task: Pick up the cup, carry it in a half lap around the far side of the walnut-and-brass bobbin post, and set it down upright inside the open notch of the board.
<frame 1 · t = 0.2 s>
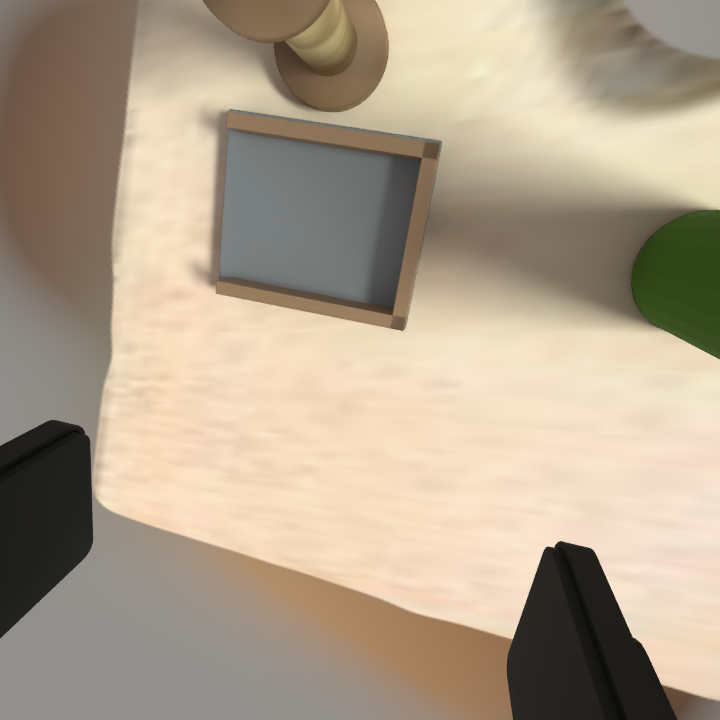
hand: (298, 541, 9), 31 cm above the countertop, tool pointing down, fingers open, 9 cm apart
bobbin post: (333, 51, 34), on the countertop
notched board: (324, 222, 38), on the countertop
wine bottle: (694, 273, 35), on the countertop
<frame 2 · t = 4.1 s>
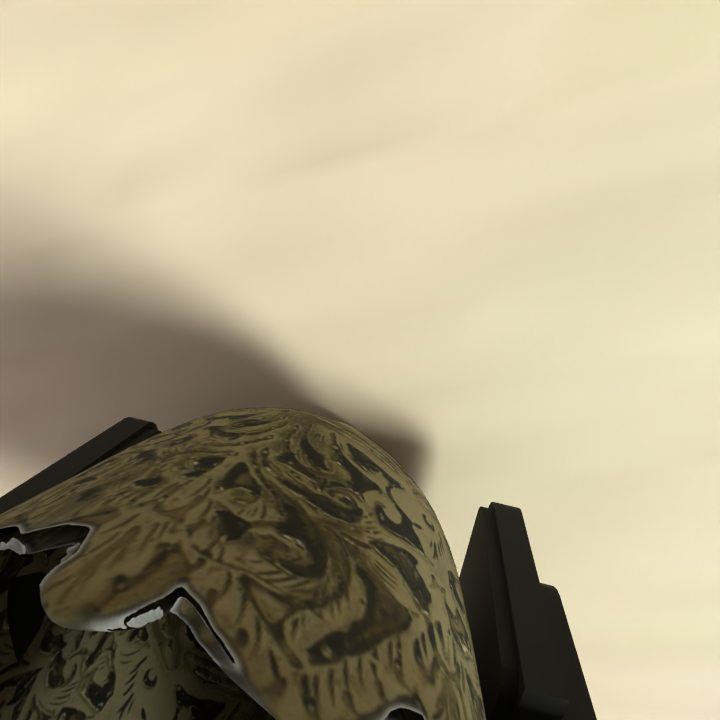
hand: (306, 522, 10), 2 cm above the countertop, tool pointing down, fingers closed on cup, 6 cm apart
cup: (327, 470, 12), on the countertop, touching gripper
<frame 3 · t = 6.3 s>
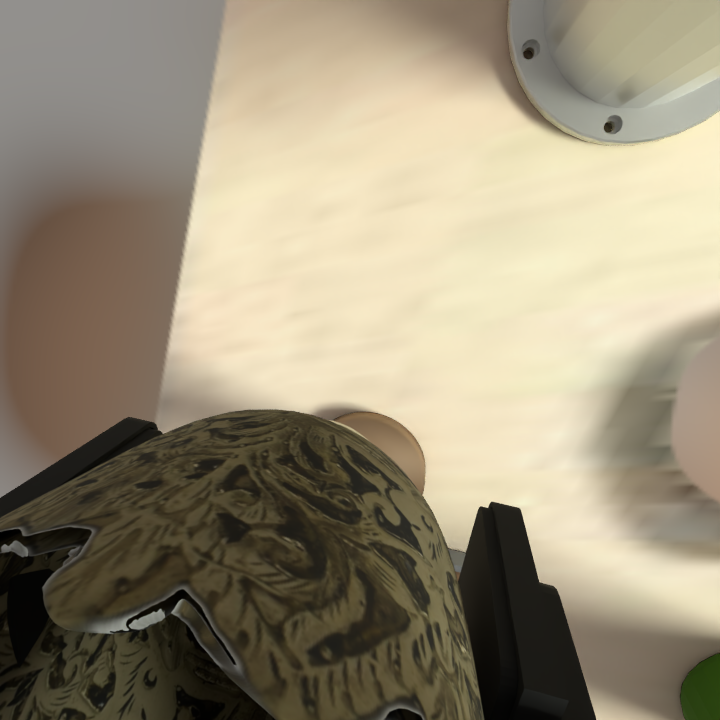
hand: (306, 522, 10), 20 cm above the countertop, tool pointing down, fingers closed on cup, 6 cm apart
bobbin post: (366, 465, 32), on the countertop
cup: (326, 471, 12), point 18 cm above the countertop, touching gripper
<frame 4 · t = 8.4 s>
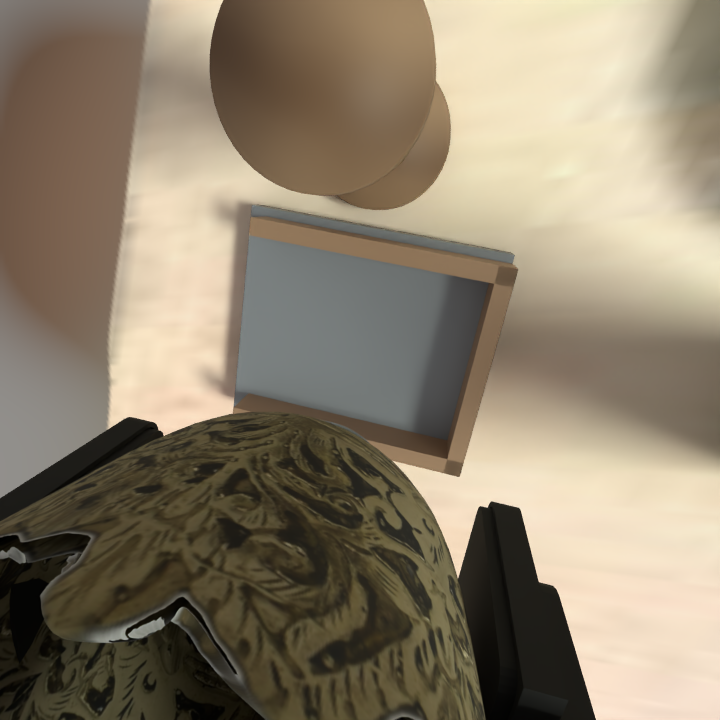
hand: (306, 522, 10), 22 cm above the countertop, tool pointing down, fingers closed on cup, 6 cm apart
bobbin post: (381, 138, 28), on the countertop
cup: (326, 473, 12), point 20 cm above the countertop, touching gripper
notched board: (363, 334, 32), on the countertop
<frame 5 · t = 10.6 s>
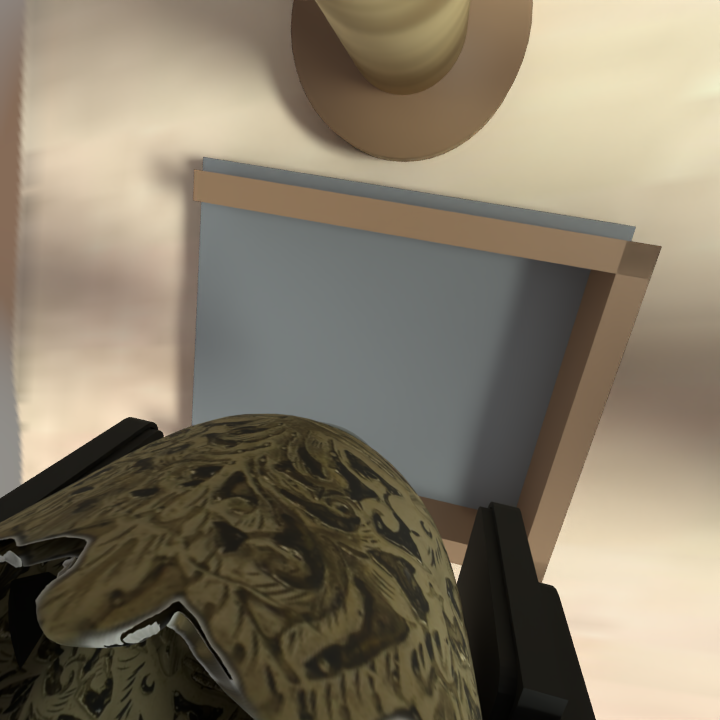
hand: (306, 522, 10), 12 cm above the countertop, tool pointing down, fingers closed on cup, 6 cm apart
bobbin post: (409, 42, 17), on the countertop
cup: (325, 474, 12), point 10 cm above the countertop, touching gripper
notched board: (381, 357, 21), on the countertop
when the fingers open (5 cm above the countertop, at t = 12.6 s): cup stays where it is, resting on notched board.
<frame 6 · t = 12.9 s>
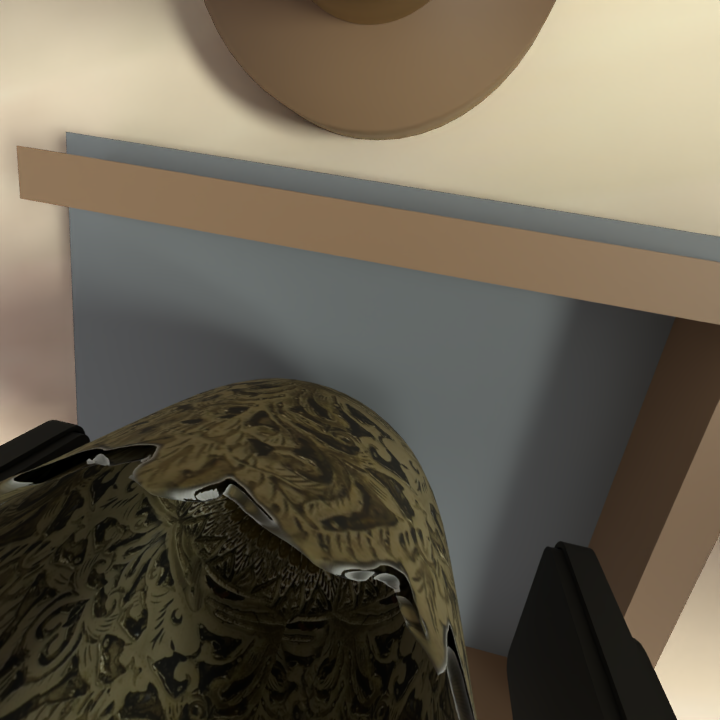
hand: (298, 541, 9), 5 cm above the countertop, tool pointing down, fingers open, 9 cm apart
cup: (327, 443, 13), point 1 cm above the countertop, touching notched board
notched board: (349, 427, 14), on the countertop
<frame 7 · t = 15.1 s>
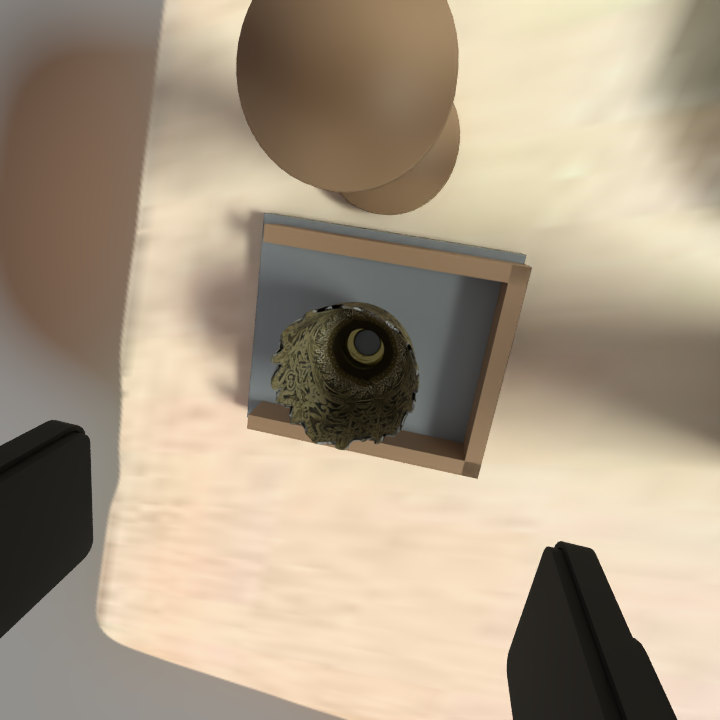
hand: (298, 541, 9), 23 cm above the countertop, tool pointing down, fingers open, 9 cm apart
bobbin post: (391, 145, 28), on the countertop
cup: (367, 341, 31), point 1 cm above the countertop, touching notched board
notched board: (375, 339, 32), on the countertop
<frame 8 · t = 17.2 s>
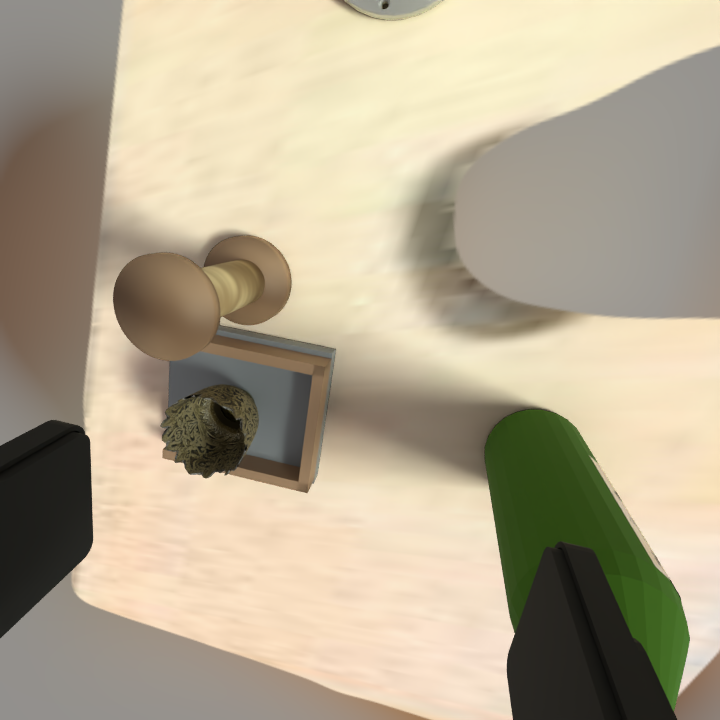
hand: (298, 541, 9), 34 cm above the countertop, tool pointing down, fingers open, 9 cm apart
bobbin post: (250, 279, 44), on the countertop
cup: (241, 402, 46), point 1 cm above the countertop, touching notched board
notched board: (250, 398, 48), on the countertop
wine bottle: (532, 450, 44), on the countertop
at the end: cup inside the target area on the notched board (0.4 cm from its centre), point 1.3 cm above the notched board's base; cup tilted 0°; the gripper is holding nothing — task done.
